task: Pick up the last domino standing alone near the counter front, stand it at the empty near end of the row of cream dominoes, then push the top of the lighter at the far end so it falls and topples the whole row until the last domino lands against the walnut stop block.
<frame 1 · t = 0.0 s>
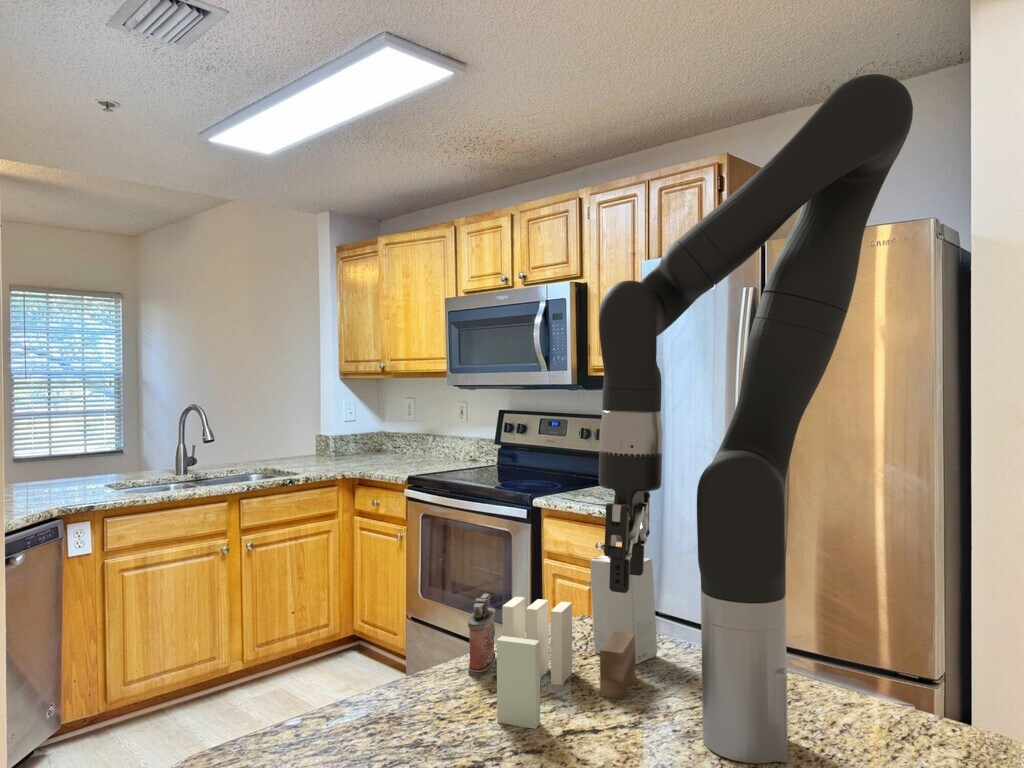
hand: (627, 582, 86), 17 cm above the countertop, tool pointing down, fingers open, 8 cm apart
domino 3: (561, 677, 100), on the countertop
lighter: (482, 667, 105), on the countertop
skincare box: (623, 655, 109), on the countertop
stop block: (618, 685, 97), on the countertop
domino 1: (514, 671, 103), on the countertop
domino 2: (537, 674, 101), on the countertop
last domino: (518, 722, 86), on the countertop
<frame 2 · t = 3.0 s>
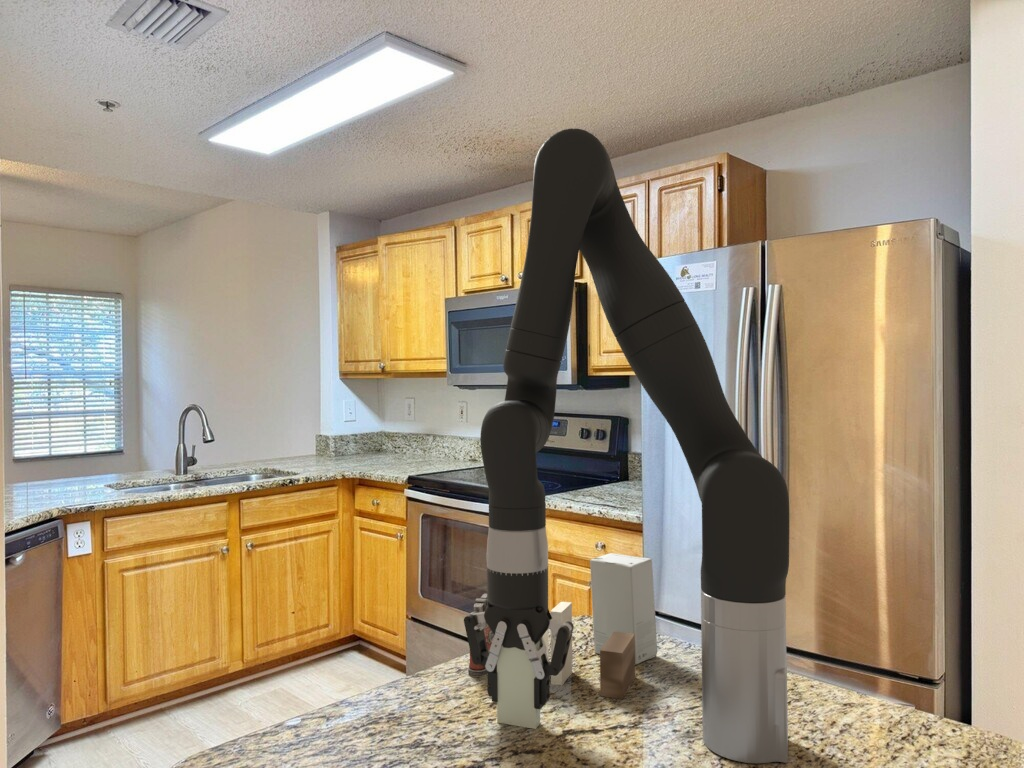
hand: (518, 702, 86), 2 cm above the countertop, tool pointing down, fingers closed on last domino, 5 cm apart
last domino: (518, 722, 86), on the countertop, touching gripper
everything else where it was.
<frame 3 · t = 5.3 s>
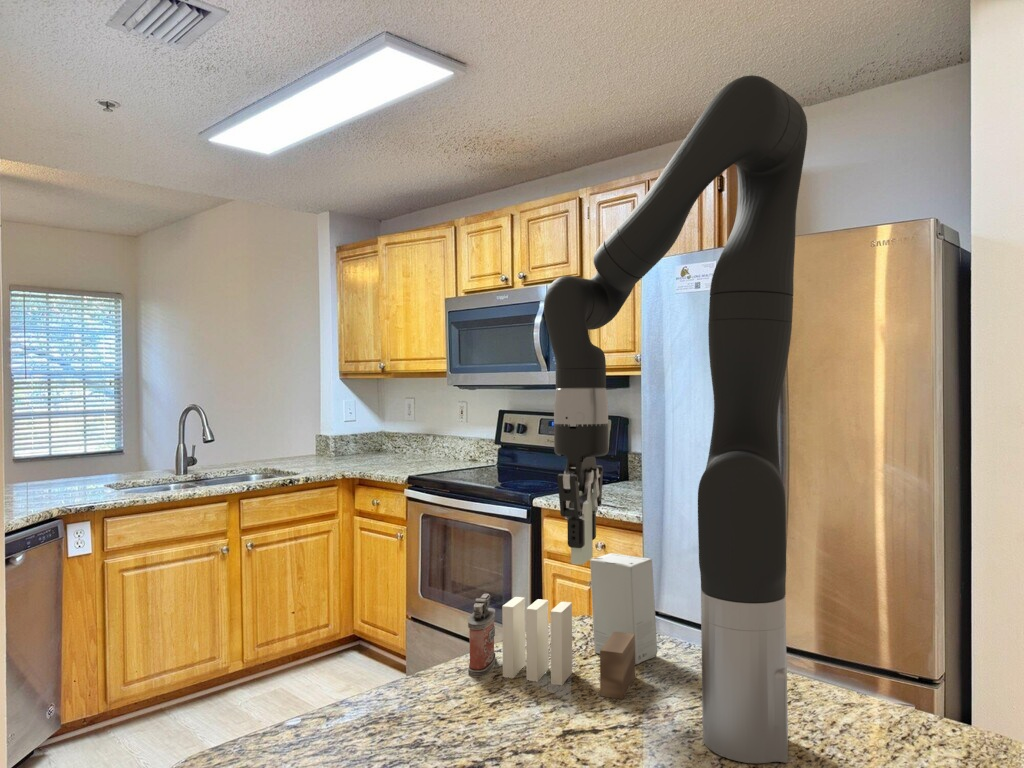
hand: (582, 542, 99), 19 cm above the countertop, tool pointing down, fingers closed on last domino, 5 cm apart
last domino: (582, 560, 99), point 17 cm above the countertop, touching gripper
everything else where it was.
when the fingers open (3 cm above the countertop, at t = 8.1 s): last domino stays where it is, on the countertop.
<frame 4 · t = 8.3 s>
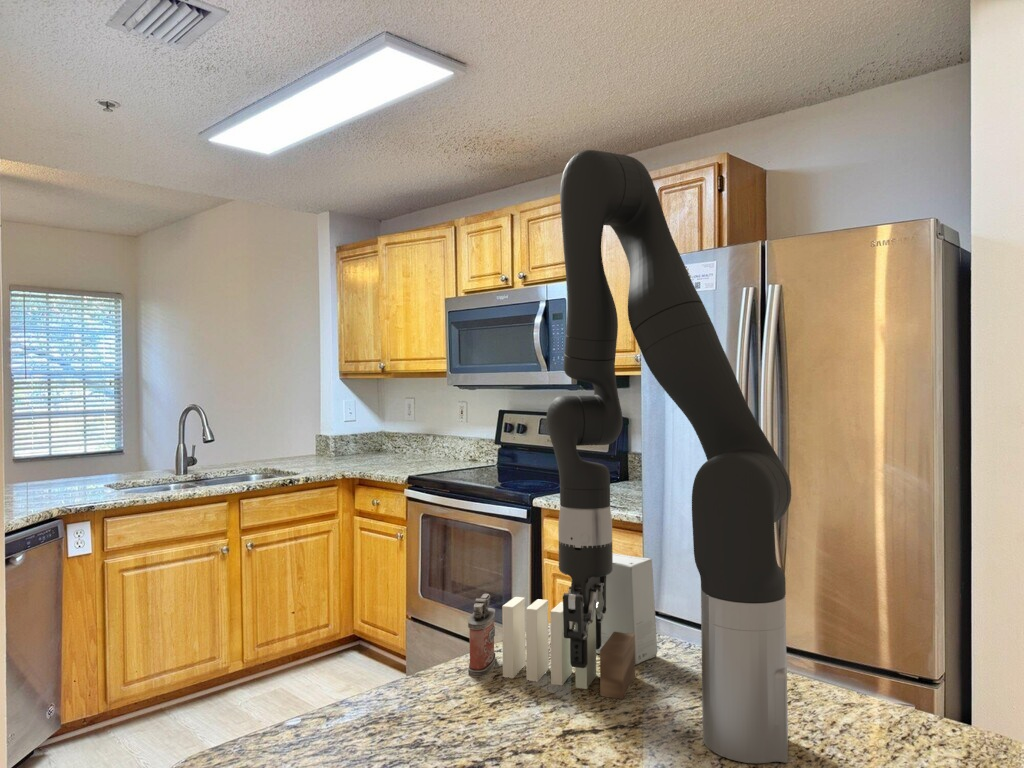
hand: (586, 656, 99), 3 cm above the countertop, tool pointing down, fingers open, 7 cm apart
last domino: (586, 681, 99), on the countertop
everything else where it was.
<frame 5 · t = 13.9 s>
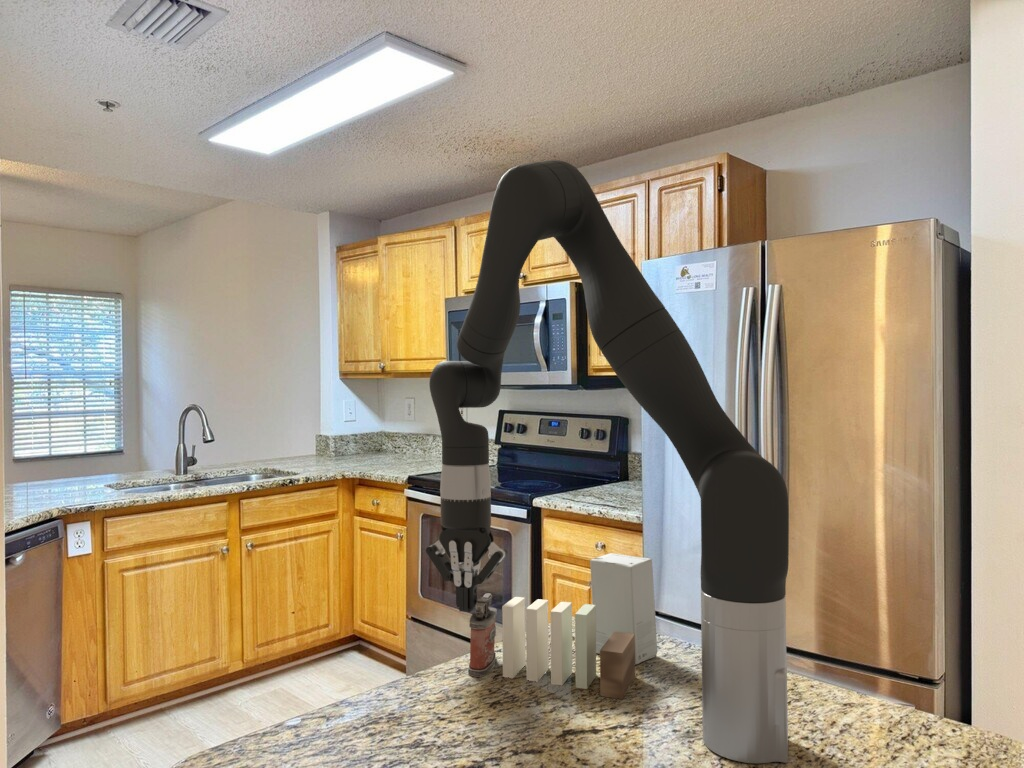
hand: (466, 610, 106), 8 cm above the countertop, tool pointing down, fingers closed
lighter: (482, 667, 105), on the countertop, touching gripper
everything else where it was.
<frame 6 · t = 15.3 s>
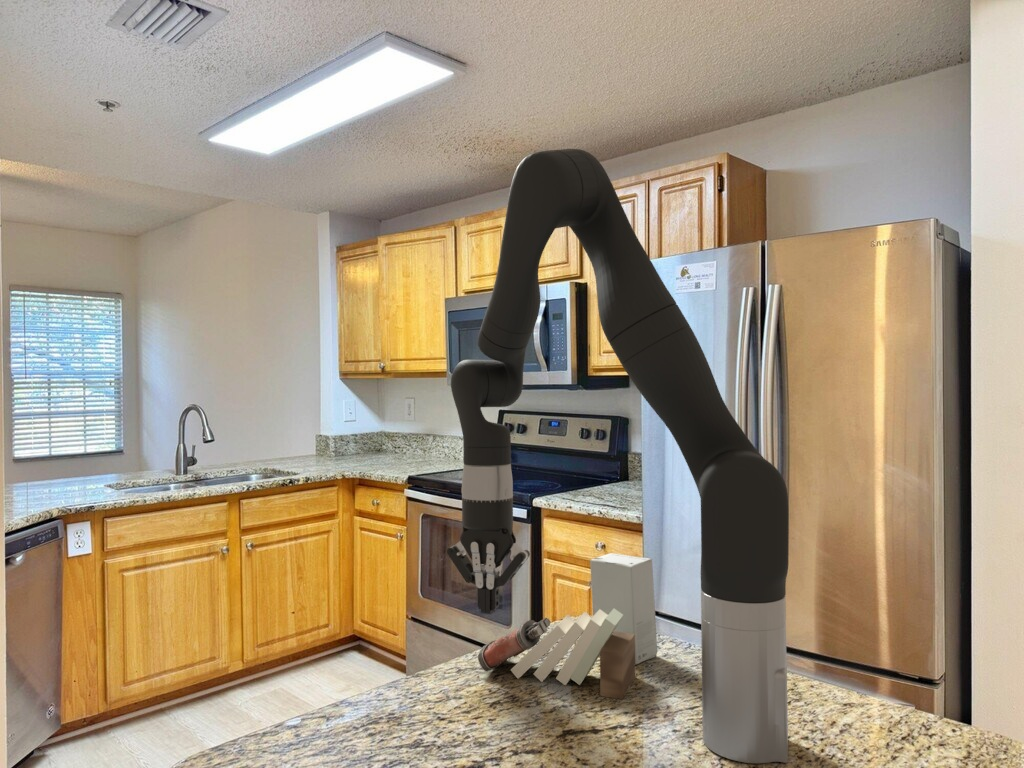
hand: (488, 612, 104), 8 cm above the countertop, tool pointing down, fingers closed
domino 3: (566, 675, 100), on the countertop, tilted 30°, touching domino 2, last domino
lighter: (488, 657, 105), point 1 cm above the countertop, touching domino 1
domino 1: (520, 668, 102), point 1 cm above the countertop, tilted 45°, touching domino 2, lighter
domino 2: (543, 671, 101), on the countertop, tilted 38°, touching domino 1, domino 3
last domino: (580, 674, 99), point 1 cm above the countertop, tilted 30°, touching domino 3, stop block
everything else where it was.
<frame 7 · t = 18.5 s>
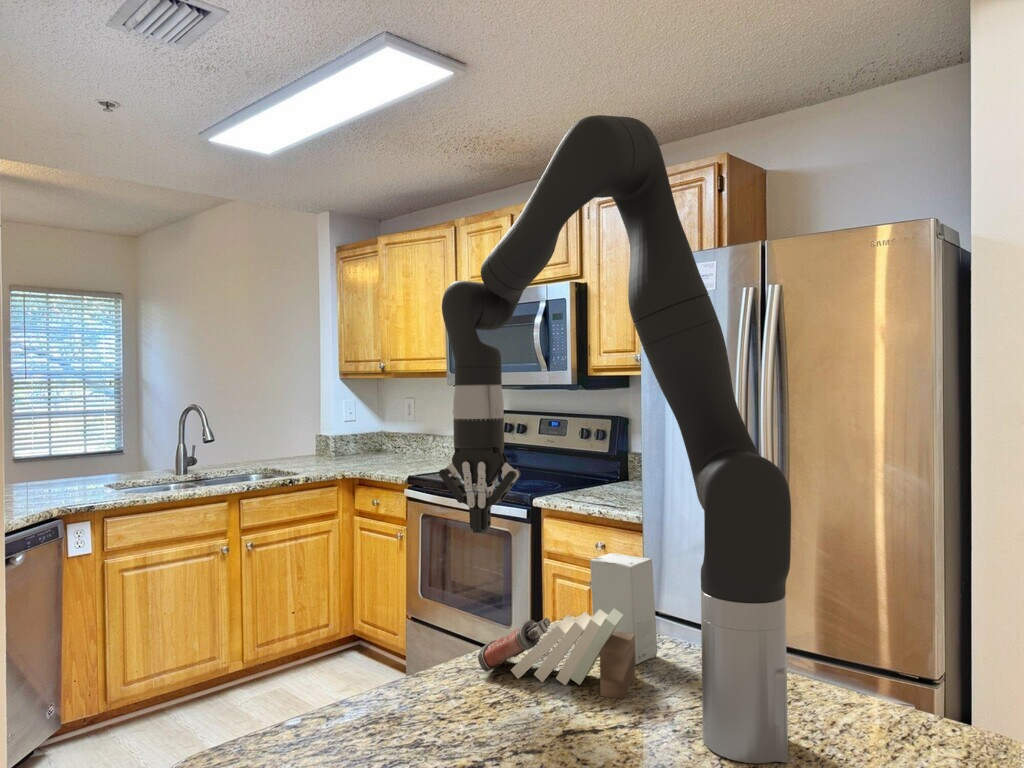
hand: (480, 532, 105), 20 cm above the countertop, tool pointing down, fingers closed
nothing on the countertop moved.
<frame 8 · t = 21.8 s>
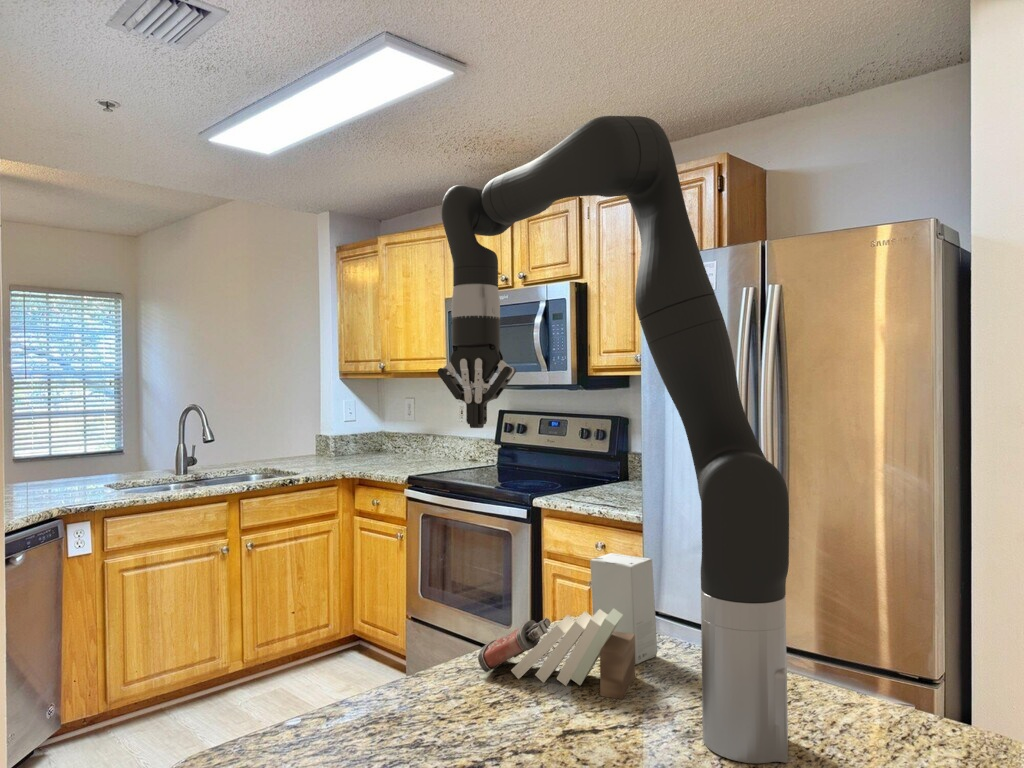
hand: (476, 427, 110), 35 cm above the countertop, tool pointing down, fingers closed
nothing on the countertop moved.
at the end: last domino tilted 29°; last domino inside the target area (2.0 cm from its centre), point 0.7 cm above the countertop; lighter moved 1.6 cm from its start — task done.
